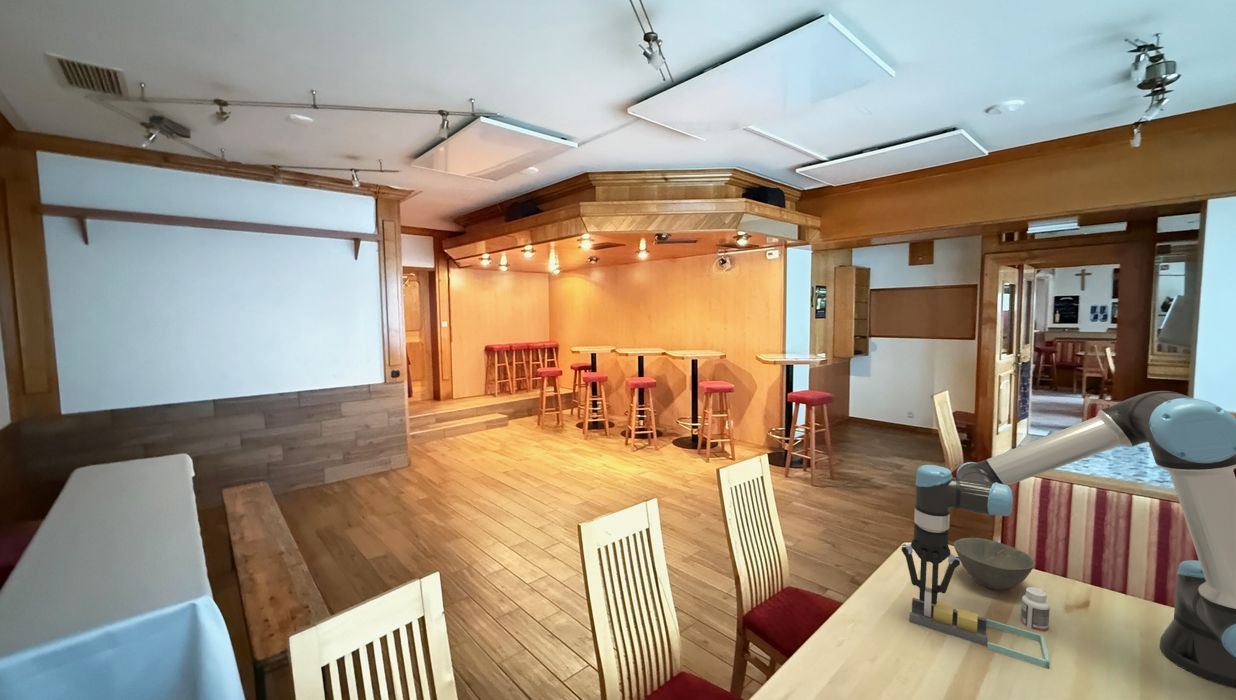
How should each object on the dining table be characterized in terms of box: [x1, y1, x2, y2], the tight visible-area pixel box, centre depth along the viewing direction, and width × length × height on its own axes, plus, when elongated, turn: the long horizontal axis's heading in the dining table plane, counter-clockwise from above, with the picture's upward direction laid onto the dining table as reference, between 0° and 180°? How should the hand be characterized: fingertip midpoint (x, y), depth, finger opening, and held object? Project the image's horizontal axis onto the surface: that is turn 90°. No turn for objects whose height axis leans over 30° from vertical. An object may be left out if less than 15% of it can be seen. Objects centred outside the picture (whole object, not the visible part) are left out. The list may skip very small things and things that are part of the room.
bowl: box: [953, 537, 1036, 591], centre depth 142 cm, size 19×19×10 cm
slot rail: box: [908, 597, 989, 647], centre depth 124 cm, size 16×9×3 cm, turn 54°
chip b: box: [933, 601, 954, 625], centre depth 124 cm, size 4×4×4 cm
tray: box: [985, 618, 1051, 670], centre depth 116 cm, size 11×11×2 cm
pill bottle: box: [1020, 586, 1051, 632], centre depth 123 cm, size 5×5×10 cm
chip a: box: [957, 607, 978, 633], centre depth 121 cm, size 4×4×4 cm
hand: (927, 613), depth 126 cm, fingers closed
